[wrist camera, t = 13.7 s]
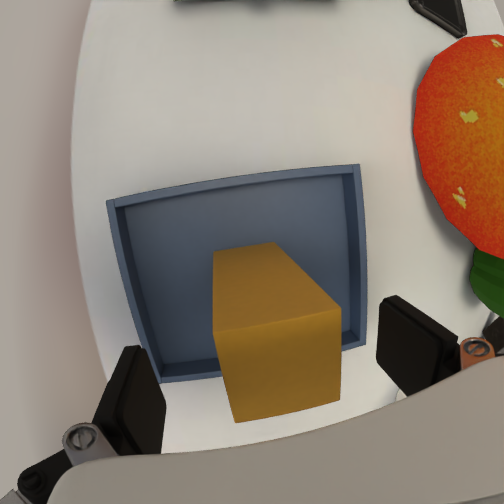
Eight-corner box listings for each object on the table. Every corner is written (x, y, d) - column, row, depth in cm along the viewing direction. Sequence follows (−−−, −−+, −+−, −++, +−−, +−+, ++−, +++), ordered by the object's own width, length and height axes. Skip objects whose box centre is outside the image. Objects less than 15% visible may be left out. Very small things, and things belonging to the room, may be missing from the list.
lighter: (468, 348, 31) (478, 379, 27) (461, 348, 31) (471, 381, 27) (507, 315, 26) (520, 349, 22) (500, 314, 25) (514, 350, 22)
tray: (159, 366, 23) (155, 384, 21) (117, 198, 20) (105, 200, 17) (353, 331, 24) (366, 344, 22) (345, 165, 21) (360, 163, 19)
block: (223, 308, 22) (234, 423, 10) (213, 251, 21) (212, 332, 9) (280, 297, 22) (340, 400, 11) (274, 241, 21) (341, 307, 10)
